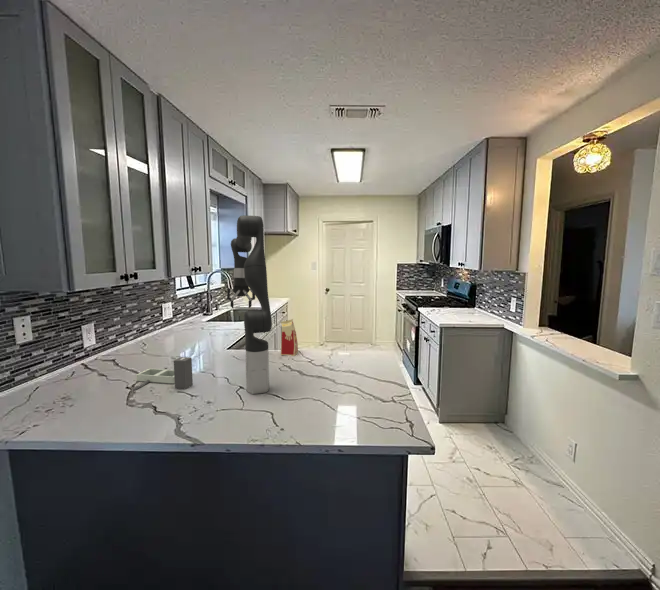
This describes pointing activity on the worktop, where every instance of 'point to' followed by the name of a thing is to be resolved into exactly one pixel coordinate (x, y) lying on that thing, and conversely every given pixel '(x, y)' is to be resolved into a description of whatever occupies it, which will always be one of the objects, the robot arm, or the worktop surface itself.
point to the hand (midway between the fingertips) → (241, 308)
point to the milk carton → (289, 339)
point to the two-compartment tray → (155, 377)
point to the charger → (183, 372)
